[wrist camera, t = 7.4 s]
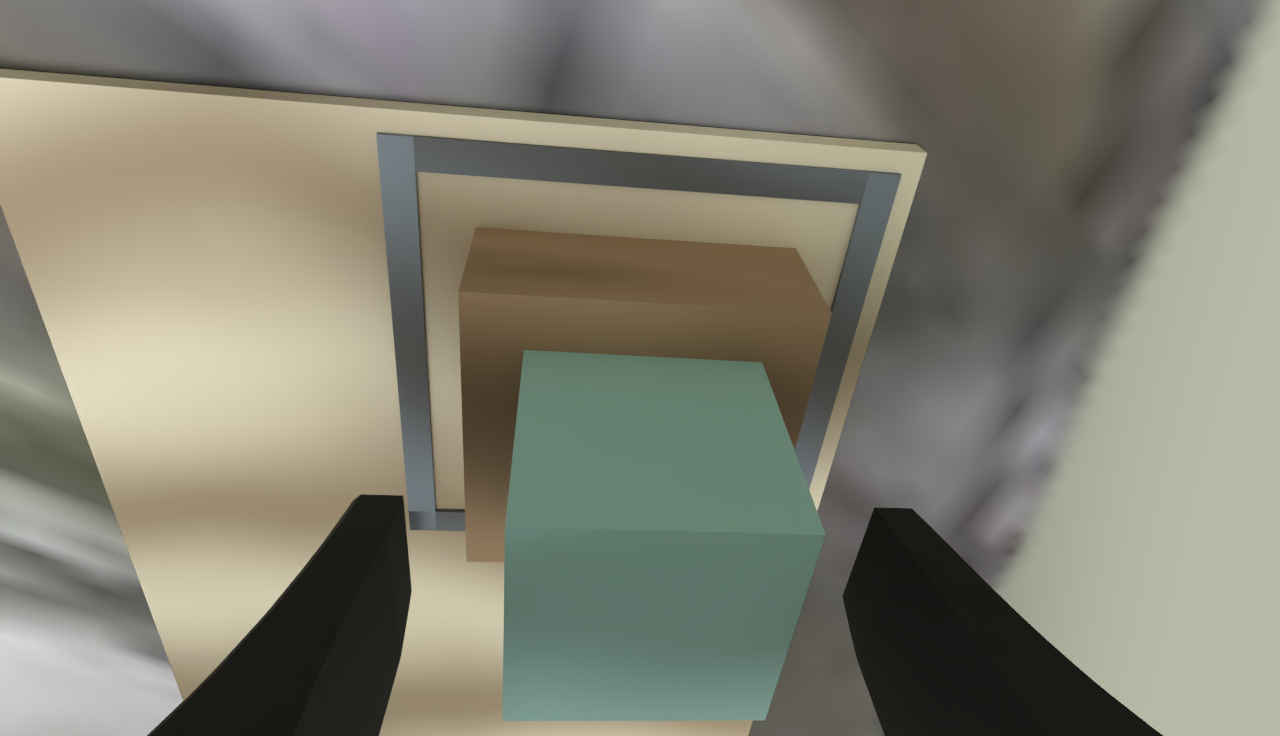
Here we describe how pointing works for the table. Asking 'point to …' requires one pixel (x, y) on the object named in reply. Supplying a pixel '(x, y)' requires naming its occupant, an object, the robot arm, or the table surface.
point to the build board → (366, 325)
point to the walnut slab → (617, 330)
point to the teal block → (651, 540)
